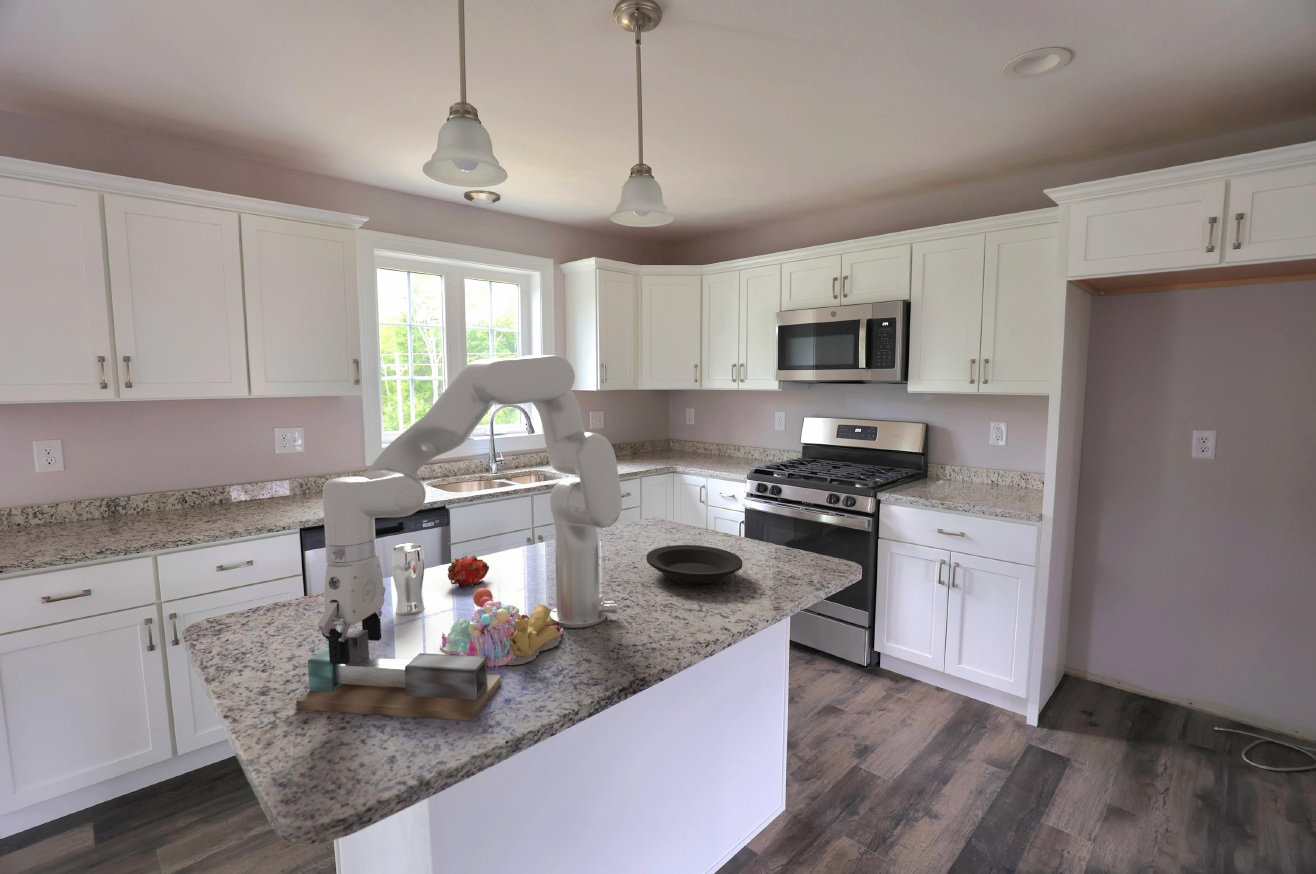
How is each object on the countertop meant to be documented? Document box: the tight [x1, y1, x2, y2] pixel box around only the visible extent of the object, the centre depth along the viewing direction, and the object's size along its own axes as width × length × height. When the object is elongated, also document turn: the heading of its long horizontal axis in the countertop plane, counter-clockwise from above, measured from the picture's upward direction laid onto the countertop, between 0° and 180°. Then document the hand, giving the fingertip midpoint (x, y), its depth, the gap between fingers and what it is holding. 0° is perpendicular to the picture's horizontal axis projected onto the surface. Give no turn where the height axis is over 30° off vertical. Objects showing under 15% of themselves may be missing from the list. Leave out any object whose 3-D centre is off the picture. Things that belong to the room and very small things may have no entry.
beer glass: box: [391, 543, 425, 616], centre depth 143 cm, size 7×7×15 cm
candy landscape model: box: [439, 587, 564, 670], centre depth 126 cm, size 25×24×9 cm
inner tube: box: [333, 629, 413, 688], centre depth 105 cm, size 19×3×8 cm, turn 83°
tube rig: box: [295, 646, 502, 722], centre depth 105 cm, size 30×12×7 cm, turn 83°
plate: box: [646, 544, 743, 586], centre depth 166 cm, size 28×24×6 cm
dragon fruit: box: [447, 555, 490, 588], centre depth 162 cm, size 8×8×12 cm
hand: (356, 650), depth 105 cm, fingers open, 8 cm apart
